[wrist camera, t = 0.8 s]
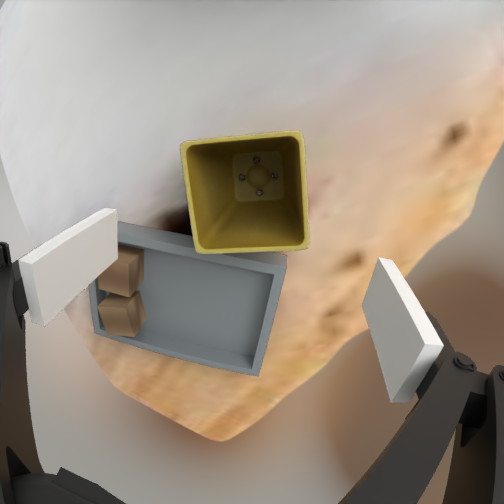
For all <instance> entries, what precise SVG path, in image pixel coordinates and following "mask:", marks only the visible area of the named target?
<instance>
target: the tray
mask: <svg viewBox="0 0 504 504" xmlns="http://www.w3.org/2000/svg"><path fill="white" fill-rule="evenodd" d="M117 242H118V244H121V245H126V246H130V247H134V248H139V249H143V250H144V281H143V282H142V283H141V284H140V286H139V287H138V288H137V289H136V290H135V291H140V295H141V298H142V302H143V306H144V309H145V313H146V316H147V319H146V321H145V322H144V324H143V325H142V327H141V328H140V330H139V331H138V333H137V334H136V336H135V337H129V336H117V335H107V333H106V330H105V327H104V324H103V322H102V319H101V316H100V313H99V310H98V308H97V306H98V305H99V304H100V303H101V302H102V301H103V300H104V299H105V298H106V297H107V296H108V295H109V294H110V292H108V291H105V290H101V289H99V287H98V277H97V278H96V279H95V280H94V281H92V282H91V283H90V284H89V292H90V302H91V311H92V319H93V326H94V333H96V334H99V335H102V336H105V337H108V338H111V339H114V340H117V341H120V342H123V343H126V344H130V345H133V346H136V347H139V348H143V349H146V350H149V351H153V352H156V353H160V354H164V355H167V356H171V357H175V358H178V359H182V360H186V361H190V362H194V363H198V364H202V365H206V366H210V367H215V368H219V369H224V370H228V371H233V372H238V373H243V374H248V375H253V376H259V373H260V369H261V365H262V362H263V358H264V354H265V351H266V347H267V343H268V339H269V335H270V332H271V328H272V324H273V320H274V316H275V312H276V308H277V304H278V300H279V296H280V292H281V288H282V284H283V280H284V276H285V272H286V268H287V255H283V254H278V253H273V252H248V253H224V254H200V253H197V252H196V249H195V245H194V241H193V236H189V235H184V234H179V233H174V232H169V231H164V230H159V229H154V228H149V227H144V226H139V225H134V224H129V223H124V222H119V221H117Z"/></svg>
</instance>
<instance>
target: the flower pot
mask: <svg viewBox="0 0 504 504" xmlns="http://www.w3.org/2000/svg"><path fill="white" fill-rule="evenodd" d="M180 153H181V160H182V167H183V174H184V181H185V187H186V195H187V201H188V209H189V215H190V221H191V229H192V234H193V241H194V245H195V249H196V252H197V253H200V254H224V253H248V252H271V251H297V250H304V249H307V248H308V247H309V244H310V235H309V216H308V198H307V180H306V161H305V145H304V137H303V134H302V133H301V132H300V131H297V130H292V131H279V132H270V133H260V134H250V135H239V136H228V137H218V138H209V139H199V140H189V141H185V142H183V143H182V144H181V145H180ZM256 157H258V158H259V159H260V162H259V163H255V162H254V159H255V158H256ZM274 172H276V173H277V174H278V177H277V178H273V177H272V174H273V173H274ZM240 175H244V176H245V179H244V180H240V179H239V176H240ZM258 190H262V191H263V194H262V195H258V194H257V191H258Z"/></svg>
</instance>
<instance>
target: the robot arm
mask: <svg viewBox="0 0 504 504" xmlns="http://www.w3.org/2000/svg"><path fill="white" fill-rule="evenodd" d="M117 259H118V242H117V210H116V209H110V208H104V209H102V210H100V211H98V212H96V213H95V214H93V215H91V216H89V217H87V218H86V219H84V220H82V221H80V222H79V223H77V224H75V225H74V226H72V227H70V228H68V229H67V230H65V231H63V232H62V233H60V234H58V235H57V236H55V237H53V238H52V239H50V240H48V241H47V242H45V243H44V244H41V245H40V246H38V247H37V248H35V249H34V250H32V251H30V252H29V253H27V254H26V255H24V256H23V257H21V258H20V259H18V260H16V261H15V262H13V263H12V262H11V257H10V251H9V245H8V244H7V243H5V242H0V504H125V503H124V502H123V501H121V500H119V499H118V498H116V497H115V496H113V495H112V494H111V493H109V492H107V491H106V490H105V489H103V488H102V487H101V486H99V485H98V484H96V483H93V482H91V481H89V480H87V479H84V478H82V477H80V476H78V475H76V474H74V473H72V472H70V471H68V470H66V469H64V468H62V467H61V468H60V470H59V472H58V473H57V475H54V474H48V473H44V471H43V469H42V466H41V464H40V462H39V458H38V454H37V450H36V444H35V439H34V433H33V427H32V420H31V413H30V405H29V396H28V386H27V372H26V353H25V352H26V349H25V319H24V315H23V314H24V313H25V312H26V311H27V310H29V313H30V316H31V320H32V322H34V323H36V324H38V325H41V326H43V327H46V326H47V325H48V324H49V323H50V322H51V321H52V320H53V319H54V318H55V317H56V316H57V315H58V314H59V313H60V312H61V311H62V310H63V309H64V308H65V307H66V306H67V305H68V304H69V303H70V302H71V301H72V300H73V299H74V298H75V297H76V296H77V295H79V294H80V293H81V292H82V291H83V290H84V289H85V288H86V287H87V286H88V285H89V284H90V283H91V282H92V281H94V280H95V279H96V278H97V277H98V276H99V275H100V274H101V273H102V272H103V271H104V270H106V269H107V268H108V267H109V266H110V265H111V264H112V263H113V262H114V261H116V260H117ZM362 308H363V311H364V314H365V317H366V320H367V323H368V326H369V329H370V332H371V336H372V338H373V342H374V345H375V348H376V352H377V355H378V359H379V362H380V366H381V369H382V372H383V376H384V379H385V383H386V387H387V391H388V394H389V398H390V402H391V403H409V402H410V400H411V398H412V397H413V396H414V394H415V393H417V395H418V398H419V400H418V402H417V403H416V405H415V406H414V407H413V409H412V410H411V412H410V413H409V414H408V416H407V417H406V418H405V419H406V420H405V421H404V423H403V424H402V426H401V427H400V429H399V430H398V431H397V433H396V434H395V436H394V437H393V438H392V440H391V441H390V442H389V444H388V445H387V446H386V448H385V449H384V450H383V452H382V453H381V454H380V455H379V457H378V458H377V459H376V461H375V462H374V463H373V464H372V466H371V467H370V468H369V469H368V470H367V472H366V473H365V474H364V475H363V477H362V478H361V479H360V480H359V481H358V482H357V483H356V484H355V486H354V487H353V488H352V489H351V490H350V492H348V494H346V496H345V497H344V498H343V499H342V500H341V501H340V502H339V503H338V504H417V502H418V500H419V499H420V497H421V496H422V494H423V492H424V491H425V489H426V487H427V485H428V484H429V482H430V480H431V478H432V476H433V474H434V473H435V471H436V469H437V467H438V465H439V463H440V461H441V459H442V457H443V455H444V453H445V451H446V449H447V447H448V445H449V442H450V440H451V438H452V436H453V434H454V431H455V429H456V432H455V440H454V448H453V454H452V460H451V466H450V472H449V476H448V482H447V487H446V491H445V495H444V499H443V503H442V504H504V366H501V365H497V366H495V367H494V368H493V369H492V371H491V373H490V374H489V375H488V374H484V373H481V372H478V371H477V367H476V365H475V363H474V362H473V361H472V360H471V359H470V358H469V357H468V356H466V355H464V354H462V353H459V352H455V351H454V349H453V347H452V346H451V344H450V342H449V340H448V338H447V337H446V335H444V331H443V330H442V329H441V327H440V325H439V323H438V321H437V320H436V319H435V318H434V317H433V316H432V315H431V314H430V313H429V312H424V310H423V308H422V307H421V305H420V303H419V302H418V300H417V298H416V297H415V295H414V293H413V292H412V290H411V289H410V287H409V286H408V284H407V282H406V281H405V279H404V278H403V276H402V274H401V273H400V271H399V270H398V268H397V267H396V265H395V264H394V262H393V261H392V260H389V259H384V258H380V257H378V259H377V263H376V266H375V269H374V272H373V275H372V278H371V281H370V283H369V286H368V289H367V292H366V295H365V298H364V300H363V303H362Z"/></svg>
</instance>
